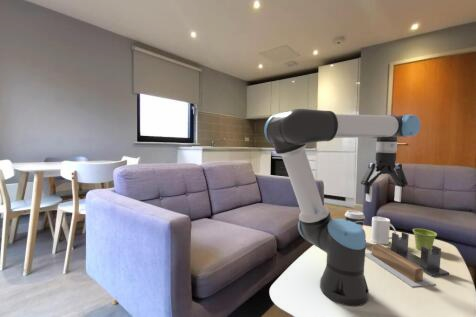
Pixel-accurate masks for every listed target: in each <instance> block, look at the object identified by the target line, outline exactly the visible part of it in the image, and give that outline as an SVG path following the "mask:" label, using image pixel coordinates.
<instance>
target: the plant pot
mask: <svg viewBox="0 0 476 317" xmlns="http://www.w3.org/2000/svg"><path fill="white" fill-rule="evenodd" d="M412 232H413V235H414V244H415V248H416V249H417V250H419V251H421V246H424V247H426V248H428V249H430V251H432V246H433V245H434V242H435V239H436V237H437V236H438V234H437V232H435V231H432V230H429V229H425V228H413V229H412Z"/></svg>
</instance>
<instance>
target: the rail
mask: <svg viewBox="0 0 476 317" xmlns="http://www.w3.org/2000/svg"><path fill="white" fill-rule="evenodd" d="M371 253H372V255H373V256H374V257H376V258H377V259H379V260H381V261H382V262H384V263H385V264H387V265H388V266H390V267H391V268H393V269H395V270H396V271H398V272H399V273H401V274H402V275H404V276H405V277H407V278H409V279H410V280H412V281H413V282H422V281H423V277H424V272H423V268H422V267H420V266H418V265H416V264H415V263H413V262H411V261H409V260H407V259H406V258H404V257H402V256H400V255H398V254H397V253H395V252H393V251H391V250H389V249H387V248H386V246H384V245H383V244H378V243H372V244H371Z"/></svg>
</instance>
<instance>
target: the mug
mask: <svg viewBox="0 0 476 317" xmlns="http://www.w3.org/2000/svg"><path fill="white" fill-rule="evenodd" d="M371 218H372V219H371V233H370V234H371V236H370V241H371V242H373V243H374V244H380V245H389V244H390V240H392V236H390V228H392V229H393V231H394V232H393V233H396V234H397V231H396V228H395V227H394V225H393V224H392V223H391V220H390V219H389V218H387V217H383V216H372V217H371Z"/></svg>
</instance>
